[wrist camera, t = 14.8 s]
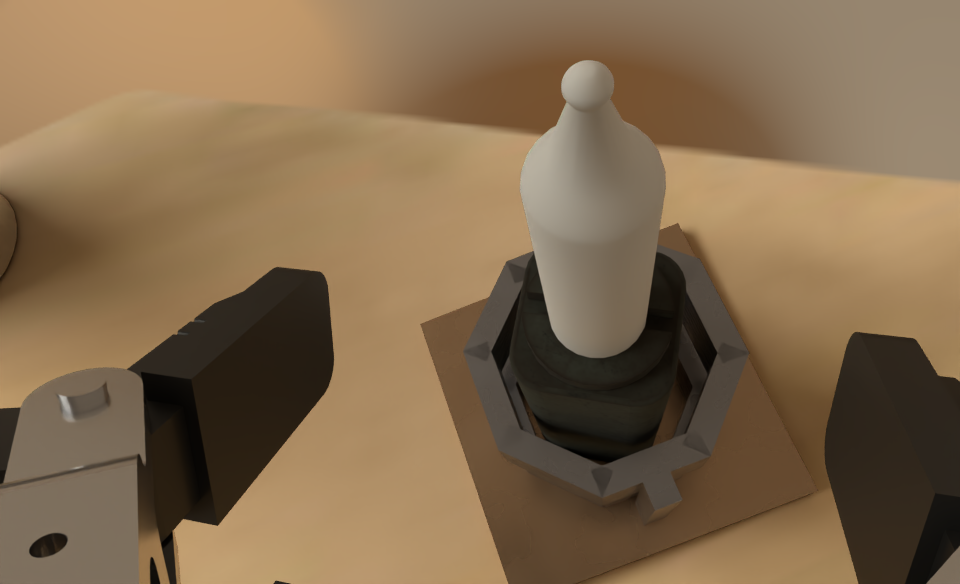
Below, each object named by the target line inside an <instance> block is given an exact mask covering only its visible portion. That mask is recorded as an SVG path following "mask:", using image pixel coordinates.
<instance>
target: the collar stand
mask: <svg viewBox="0 0 960 584" xmlns="http://www.w3.org/2000/svg"><path fill="white" fill-rule="evenodd" d="M656 252H660V253H663V254H665V255H666V256H668V257H670V258H671V259H673V260H674V261H675V262H676V263H677V264H678V265H679V267H680V268H681V270H682V271H683V274H684V277H685V280H686V297H685V305H684V314H683V322H682V331H681V339H680V348H679V356H678V365H677V373H676V378H675V382H674V385H673V388H672V391H671V394H670V397H669V400H668V403H667V406H666V408H665V411H664V414H663V417H662V420H661V423H660V426H659V429H658V432H657V435H656V438H655V441H654V443H653V446H652V447H650V448H647V449H644V450H642V451H639V452H637V453H634V454H632V455H629V456H626V457H624V458H621V459H619V460H616V461H613V462H611V463H610V462H605V461H599V460H593V459H588V458H583V457H581V456H579V455H577V454H575V453H572V452H570V451H568V450H566V449H563V448H561V447H559V446H557V445H554V444H552V443H550V442H548V441H545V439H544V437H543V435H542V432H541V430H540V428H539V426H538V424H537V422H536V420H535V418H534V415H533V413H532V411H531V409H530V407H529V405H528V403H527V400H526V398H525V396H524V394H523V392H522V390H521V388H520V386H519V383H518V381H517V379H516V377H515V375H514V373H513V371H512V369H511V364H510V360H509V356H510V346H511V341H512V336H513V331H514V326H515V320H516V315H517V310H518V305H519V300H520V295H521V290H522V284H523V279H524V274H525V269H526V267H527V264H528V261H529V259H530V258H531V257H532V255H533V254H534V251H532V252H530V253H527V254H525V255H522V256H520V257H517V258H515V259H512V260H509V261H507V262H506V264H505V266H504V268H503V270H502V272H501V274H500V276H499V278H498V280H497V282H496V284H495V286H494V288H493V291H492V293H491V295H490V297H488V298H486V299H483V300H481V301H478V302H476V303H473V304H471V305H468V306H465V307H463V308H460V309H458V310H455V311H453V312H450V313H448V314H445V315H442V316H440V317H437V318H435V319H432V320H430V321H427V322H425V323H422V324H421V327H422V330H423V333H424V336H425V339H426V342H427V345H428V348H429V351H430V354H431V356H432V359H433V362H434V365H435V368H436V371H437V374H438V377H439V380H440V383H441V386H442V389H443V392H444V395H445V398H446V401H447V404H448V407H449V410H450V413H451V415H452V418H453V421H454V424H455V427H456V430H457V433H458V436H459V439H460V442H461V445H462V448H463V451H464V454H465V457H466V460H467V463H468V466H469V469H470V472H471V474H472V477H473V480H474V483H475V486H476V489H477V492H478V495H479V498H480V501H481V504H482V507H483V510H484V513H485V516H486V519H487V522H488V525H489V528H490V530H491V533H492V536H493V539H494V542H495V545H496V548H497V551H498V554H499V557H500V560H501V563H502V566H503V569H504V572H505V575H506V578H507V581H508V584H576V583H578V582H581V581H584V580H586V579H589V578H591V577H594V576H597V575H599V574H602V573H605V572H607V571H610V570H612V569H615V568H618V567H620V566H623V565H625V564H628V563H631V562H633V561H636V560H639V559H641V558H644V557H646V556H649V555H652V554H654V553H657V552H660V551H662V550H665V549H667V548H670V547H673V546H675V545H678V544H680V543H683V542H686V541H688V540H691V539H694V538H696V537H699V536H701V535H704V534H707V533H709V532H712V531H715V530H717V529H720V528H722V527H725V526H728V525H730V524H733V523H735V522H738V521H741V520H743V519H746V518H749V517H751V516H754V515H756V514H759V513H762V512H764V511H767V510H769V509H772V508H775V507H777V506H780V505H783V504H785V503H788V502H790V501H793V500H796V499H798V498H801V497H804V496H806V495H809V494H811V493H814V492H816V491H818V489H817V487H816V485H815V484H814V482H813V480H812V478H811V476H810V474H809V472H808V470H807V468H806V466H805V464H804V463H803V461H802V459H801V457H800V455H799V453H798V451H797V449H796V447H795V445H794V443H793V442H792V440H791V438H790V436H789V434H788V432H787V430H786V428H785V426H784V424H783V422H782V421H781V419H780V417H779V415H778V413H777V411H776V409H775V407H774V405H773V403H772V401H771V400H770V398H769V396H768V394H767V392H766V390H765V388H764V386H763V384H762V382H761V381H760V379H759V377H758V375H757V373H756V371H755V369H754V367H753V365H752V363H751V361H750V360H749V358H748V355H749V352H748V350H747V348H746V346H745V344H744V342H743V340H742V338H741V336H740V334H739V333H738V331H737V329H736V327H735V325H734V323H733V321H732V319H731V317H730V315H729V314H728V312H727V310H726V308H725V306H724V304H723V302H722V300H721V298H720V296H719V295H718V293H717V291H716V289H715V287H714V285H713V283H712V281H711V279H710V277H709V276H708V274H707V272H706V270H705V268H704V266H703V264H702V262H701V260H700V259H699V258H696V257H695V255H694V253H693V251H692V249H691V247H690V245H689V243H688V241H687V239H686V237H685V236H684V234H683V232H682V230H681V228H680V226H679V224H678V223H677V224H675V225H672V226H669V227H667V228H664V229H662V230H659V236H658V243H657V250H656Z"/></svg>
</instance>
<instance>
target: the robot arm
mask: <svg viewBox="0 0 960 584" xmlns="http://www.w3.org/2000/svg"><path fill="white" fill-rule="evenodd" d="M16 239H17V223H16V218H15V214H14V211H13V209H12V207H11V205H10V204H9V202H8V201H7V200H6V199H5V198H4V197H3V196H2V195H1V194H0V278H1V276H2V275H3V273H4V272H5V270H6V268H7V267H8V264H9V262H10V259H11V257H12V255H13V252H14V248H15V243H16ZM333 365H334V352H333V341H332V329H331V317H330V306H329V294H328V285H327V281H326V278H325V277H324V275H323V274H322V273H321V272H318V271H309V270H300V269H290V268H281V267H276V268H274V269H272V270H271V271H269V272H268V273H267V274H266V275H264V276H263V277H262V278H260V279H259V280H258V281H256V282H255V283H254V284H253V285H251V286H250V287H249V288H247V289H246V290H245V291H244V292H241V293H239V294H236V295H234V296H232V297H229V298H227V299H224V300H222V301H219V302H217V303H214V304H213V305H212V306H210V307H209V308H208V309H206V310H205V311H204V312H202V313H201V314H200V315H199V316H197V317H196V318H195V319H194V322H189V323H188V324H187V325H185V326H184V327H183V328H181V329H180V330H179V331H178V334H177V335H175V334H173V335H172V336H171V337H169V338H168V339H167V340H165V341H164V342H163V343H161V344H160V345H159V346H157V347H156V348H155V349H153V350H152V351H151V352H149V353H148V354H147V355H145V356H144V357H143V358H141V359H140V360H139V361H137V362H136V363H135V364H133V365H132V366H131V367H129V368H128V369H127V370H125V369H120V368H94V369H87V370H82V371H77V372H73V373H70V374H66V375H64V376H61V377H58V378H56V379H54V380H51V381H49V382H47V383H45V384H44V385H42V386H40V387H39V388H37V389H36V390H34V391H33V392H32V393H31V394H30V395H29V396H27V398H26V399H25V400H24V402H23V404H22V406H21V408H3V409H0V584H181V580H180V568H179V556H178V546H177V542H176V537H175V532H174V529H175V528H176V526H177V525H178V524H179V523H180V522H181V521H182V520H183V519H186V520H191V521H196V522H201V523H207V524H212V525H217V526H218V525H219V524H220V522H221V521H222V520H223V519H224V517H225V516H226V515H227V514H228V512H229V511H230V510H231V509H232V507H233V506H234V505H235V504H236V503H237V501H238V500H239V499H240V498H241V496H242V495H243V494H244V493H245V491H246V490H247V489H248V488H249V486H250V485H251V484H252V483H253V481H254V480H255V479H256V478H257V476H258V475H259V474H260V473H261V472H262V470H263V469H264V468H265V467H266V465H267V464H268V463H269V462H270V460H271V459H272V458H273V457H274V455H275V454H276V453H277V452H278V450H279V449H280V448H281V447H282V446H283V444H284V443H285V442H286V441H287V439H288V438H289V437H290V436H291V434H292V433H293V432H294V431H295V429H296V428H297V427H298V426H299V424H300V423H301V422H302V421H303V419H304V418H305V417H306V416H307V415H308V413H309V412H310V411H311V410H312V408H313V407H314V406H315V405H316V403H317V402H318V401H319V400H320V398H321V397H322V396H323V395H324V393H325V392H326V390H327V388H328V386H329V383H330V380H331V377H332V372H333ZM825 465H826V470H827V474H828V477H829V481H830V484H831V488H832V491H833V495H834V498H835V502H836V505H837V509H838V512H839V516H840V519H841V523H842V527H843V530H844V534H845V537H846V541H847V544H848V548H849V551H850V555H851V558H852V562H853V565H854V569H855V572H856V576H857V579H858V583H859V584H960V382H959V381H958V380H957V379H955V378H950V377H942V376H938V375H937V373H936V371H935V370H934V368H933V366H932V365H931V363H930V362H929V360H928V358H927V357H926V355H925V353H924V352H923V350H922V348H921V347H920V345H919V344H918V342H917V341H916V340H915V339H914V338H905V337H896V336H887V335H878V334H869V333H860V332H855V333H854V334H853V335H852V336H851V337H850V339H849V342H848V344H847V347H846V351H845V355H844V359H843V363H842V367H841V371H840V375H839V379H838V383H837V387H836V391H835V395H834V399H833V403H832V408H831V412H830V416H829V420H828V424H827V429H826V436H825ZM274 584H289V583H285V582H280V581H275V582H274Z"/></svg>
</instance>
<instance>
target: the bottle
mask: <svg viewBox="0 0 960 584" xmlns="http://www.w3.org/2000/svg"><path fill="white" fill-rule="evenodd" d="M561 87H562V94H563V97H564V98H565V100H566V101H567V102H566V105H565V107H564V109H563V111H562V114H561V116H560V118H559V121H558V123H557V125H556V126H555V127H553V128H551V129H550V130H549V131H547V132H546V133H545V134H544V135H543V136H541V137H540V138H539V139H538V140H537V141H536V143H535V144H534V145H533V147H532V148H531V150H530V151H529V152H528V154H527V156H526V159H525V162H524V165H523V168H522V171H521V180H520V193H521V197H522V202H523V206H524V210H525V215H526V219H527V223H528V228H529V232H530V236H531V241H532V245H533V249H534V254H533V255H532V257H531V258H530V259H529V261H528V264H527V267H526V269H525V274H524V279H523V284H522V290H521V295H520V300H519V305H518V310H517V315H516V320H515V326H514V331H513V336H512V341H511V346H510V356H509V360H510V364H511V369H512V371H513V373H514V375H515V377H516V379H517V381H518V383H519V386H520V388H521V390H522V392H523V394H524V396H525V398H526V400H527V403H528V405H529V407H530V409H531V411H532V413H533V415H534V418H535V420H536V422H537V424H538V426H539V428H540V430H541V432H542V435H543V437H544V439H545V441H548V442H550V443H552V444H554V445H557V446H559V447H561V448H563V449H566V450H568V451H570V452H572V453H575V454H577V455H579V456H581V457H583V458H588V459H593V460H599V461H605V462H610V463H611V462H613V461H616V460H619V459H621V458H624V457H626V456H629V455H632V454H634V453H637V452H639V451H642V450H644V449H647V448H650V447H652V446H653V443H654V441H655V438H656V435H657V432H658V429H659V426H660V423H661V420H662V417H663V414H664V411H665V408H666V406H667V403H668V400H669V397H670V394H671V391H672V388H673V385H674V382H675V378H676V373H677V365H678V356H679V348H680V339H681V331H682V322H683V314H684V305H685V297H686V280H685V277H684V274H683V271H682V270H681V268H680V267H679V265H678V264H677V263H676V262H675V261H674V260H673V259H671V258H670V257H668V256H666V255H665V254H663V253H660V252H656V250H657V243H658V236H659V230H660V223H661V216H662V209H663V202H664V196H665V189H666V182H665V169H664V166H663V163H662V160H661V157H660V154H659V151H658V149H657V148H656V147H655V145H654V144H653V142H652V141H651V140H650V138H649V137H648V136H647V135H645V134H644V133H643V132H642V131H640V130H639V129H638V128H637V127H635V126H633V125H631V124H629V123H627V122H625V121H623V120H622V118H621V117H620V115H619V113H618V111H617V110H616V108H615V106H614V104H613V103H612V101H611V99H610V97H611V95H612V93H613V90H614V79H613V76H612V74H611V72H610V71H609V69H608V68H607V67H606V66H605V65H604V64H602V63H600V62H597V61H592V60H585V61H581V62H578V63H576V64H574V65H573V66H571V67H570V68H569V69H568V70H567V72H566V73H565V75H564V77H563V80H562V86H561Z"/></svg>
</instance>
